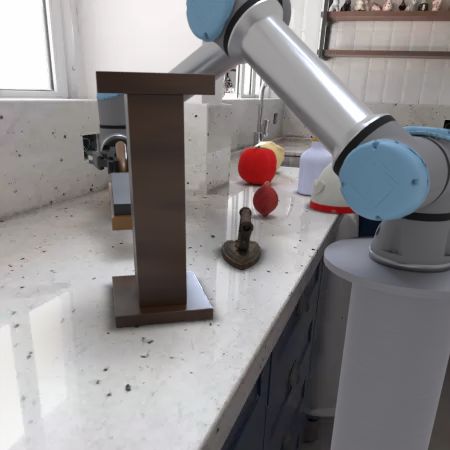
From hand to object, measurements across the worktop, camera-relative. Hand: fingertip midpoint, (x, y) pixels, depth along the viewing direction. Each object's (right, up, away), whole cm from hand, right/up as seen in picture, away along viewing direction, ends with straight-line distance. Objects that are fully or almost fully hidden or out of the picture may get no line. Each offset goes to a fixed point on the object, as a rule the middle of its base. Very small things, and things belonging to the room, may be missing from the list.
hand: (124, 168), depth 87 cm
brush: (0, -2, +3) cm, 4 cm away
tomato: (+28, +13, +66) cm, 73 cm away
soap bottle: (+44, +7, +52) cm, 68 cm away
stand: (+9, -24, -21) cm, 33 cm away
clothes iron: (+21, -17, -4) cm, 27 cm away
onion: (+27, -4, +25) cm, 37 cm away
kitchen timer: (+47, 0, +35) cm, 59 cm away
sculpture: (+33, +22, +88) cm, 96 cm away
